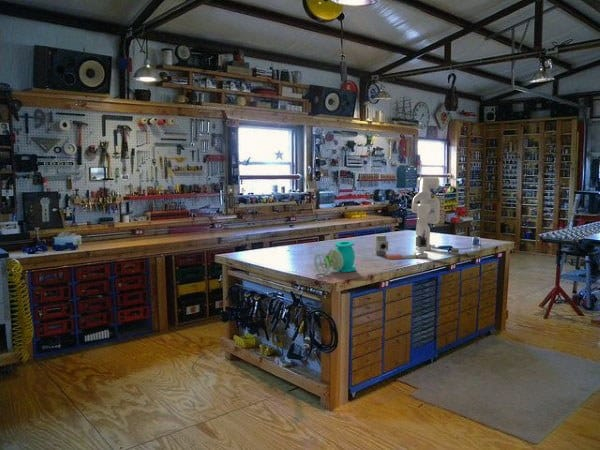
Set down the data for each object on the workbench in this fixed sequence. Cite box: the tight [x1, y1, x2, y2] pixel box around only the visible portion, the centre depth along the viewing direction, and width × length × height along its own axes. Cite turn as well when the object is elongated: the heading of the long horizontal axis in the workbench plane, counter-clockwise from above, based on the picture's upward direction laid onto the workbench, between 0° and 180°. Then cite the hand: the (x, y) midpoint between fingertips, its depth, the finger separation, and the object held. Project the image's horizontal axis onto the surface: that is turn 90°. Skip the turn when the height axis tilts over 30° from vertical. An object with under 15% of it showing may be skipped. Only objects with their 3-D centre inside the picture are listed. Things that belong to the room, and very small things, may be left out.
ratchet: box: [384, 248, 429, 260], centre depth 376 cm, size 33×10×7 cm, turn 101°
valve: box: [313, 240, 357, 276], centre depth 324 cm, size 14×18×30 cm
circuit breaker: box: [372, 234, 389, 256], centre depth 389 cm, size 8×14×15 cm, turn 11°
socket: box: [415, 236, 427, 247], centre depth 377 cm, size 6×6×7 cm
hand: (421, 244), depth 378 cm, fingers closed on socket, 6 cm apart
